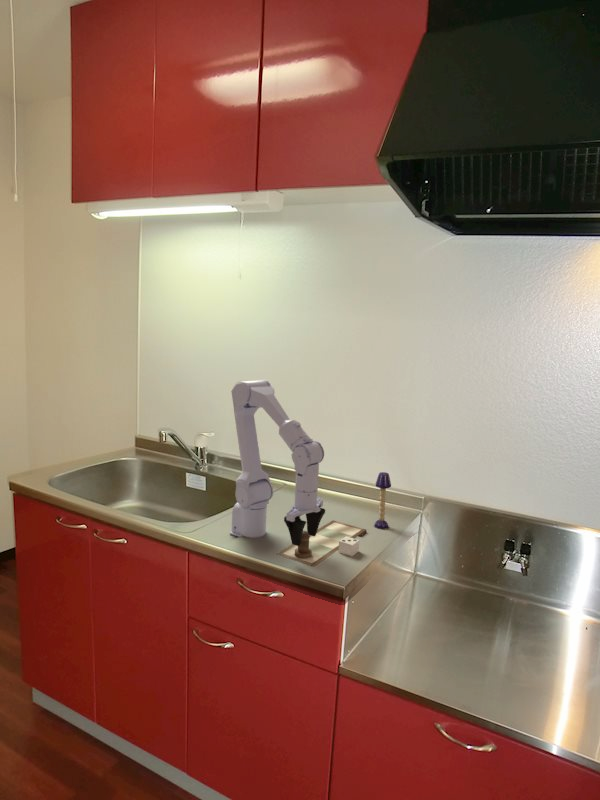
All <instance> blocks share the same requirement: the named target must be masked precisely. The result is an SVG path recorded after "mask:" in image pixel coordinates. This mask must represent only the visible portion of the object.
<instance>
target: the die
mask: <svg viewBox="0 0 600 800" xmlns="http://www.w3.org/2000/svg"><path fill="white" fill-rule="evenodd" d="M337 551H338V552H337V553H340V554H343V555H346V556H349V557H353V556H354V555H356V554H357V553H358V552H360V539H357V538H350V537H347V536H346V537H344V538H343V539H341V540H340V541H339V549H338V550H337Z"/></svg>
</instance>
